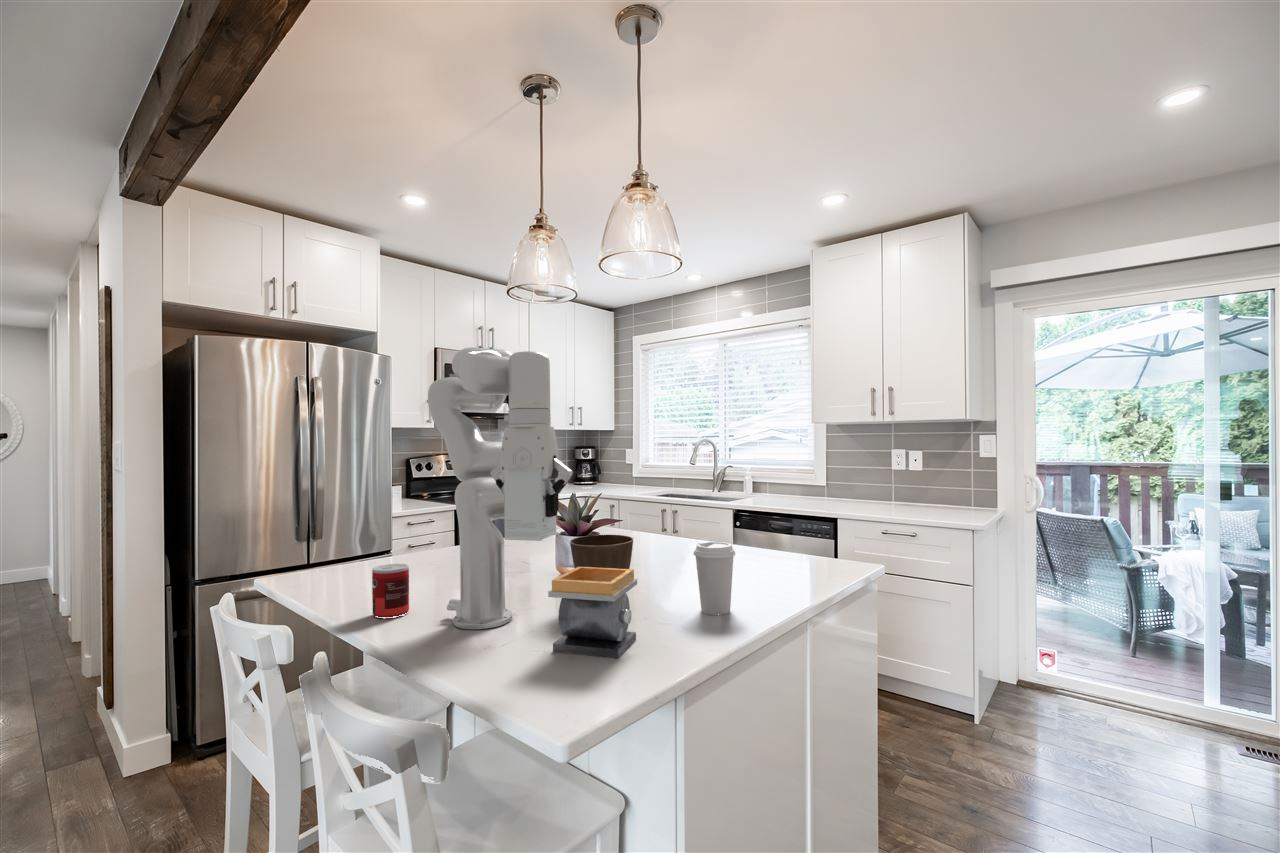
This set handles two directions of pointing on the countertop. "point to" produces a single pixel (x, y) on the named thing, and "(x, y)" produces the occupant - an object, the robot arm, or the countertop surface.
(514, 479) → the supplement box
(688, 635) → the countertop surface
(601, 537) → the plant pot
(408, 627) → the countertop surface
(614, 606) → the tray on grey cylinder
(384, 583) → the canned food
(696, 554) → the coffee cup
